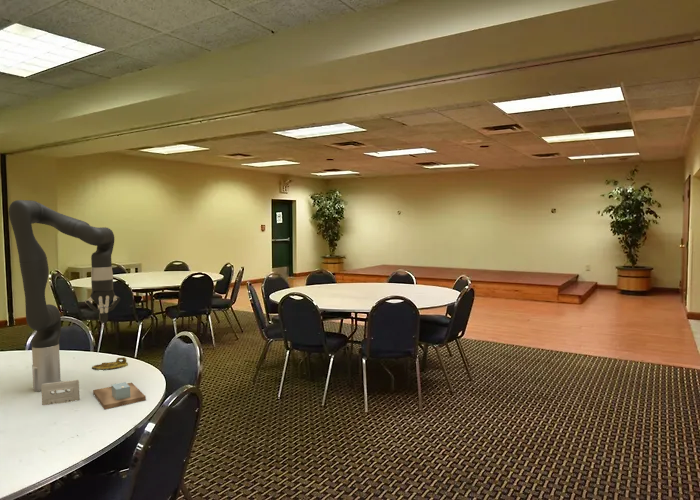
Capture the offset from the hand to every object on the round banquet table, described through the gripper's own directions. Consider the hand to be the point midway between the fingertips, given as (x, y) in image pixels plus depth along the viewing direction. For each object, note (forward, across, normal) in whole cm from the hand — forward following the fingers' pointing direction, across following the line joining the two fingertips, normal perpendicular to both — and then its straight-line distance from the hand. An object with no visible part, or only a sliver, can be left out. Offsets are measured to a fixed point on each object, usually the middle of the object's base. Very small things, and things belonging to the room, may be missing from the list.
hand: (103, 322), depth 190 cm
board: (+27, -2, +12) cm, 30 cm away
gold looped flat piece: (+28, -8, -32) cm, 43 cm away
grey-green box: (+26, -2, +16) cm, 30 cm away
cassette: (+27, +16, +4) cm, 32 cm away
